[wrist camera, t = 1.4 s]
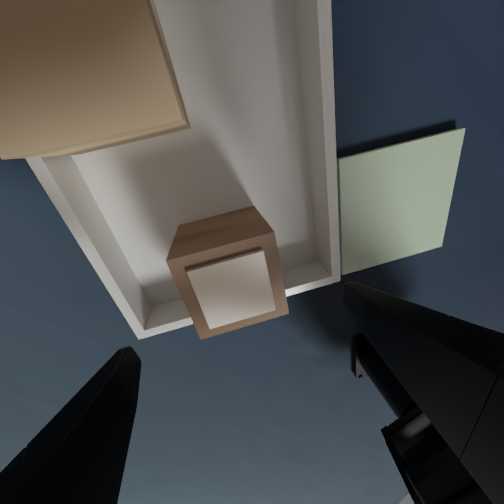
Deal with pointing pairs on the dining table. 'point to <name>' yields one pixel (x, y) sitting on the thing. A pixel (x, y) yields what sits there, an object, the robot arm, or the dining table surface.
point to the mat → (395, 199)
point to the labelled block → (228, 271)
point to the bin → (216, 155)
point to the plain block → (84, 77)
